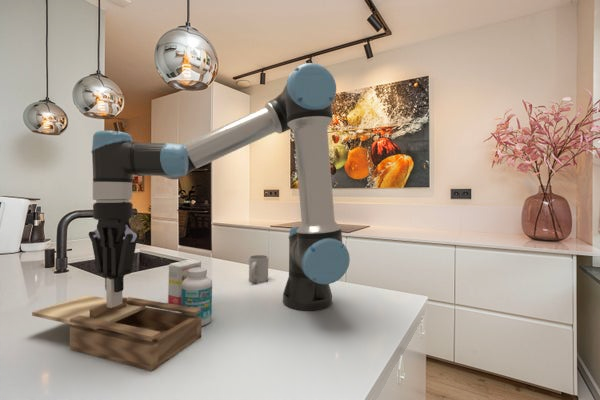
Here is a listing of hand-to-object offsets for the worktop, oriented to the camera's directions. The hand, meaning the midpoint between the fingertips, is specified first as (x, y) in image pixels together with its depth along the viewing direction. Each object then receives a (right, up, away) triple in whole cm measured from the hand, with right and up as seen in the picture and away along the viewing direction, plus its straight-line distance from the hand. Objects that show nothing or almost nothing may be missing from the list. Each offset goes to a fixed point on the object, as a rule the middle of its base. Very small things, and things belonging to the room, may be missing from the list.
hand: (114, 305), depth 67 cm
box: (+7, -7, -2) cm, 10 cm away
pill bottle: (+16, -8, +8) cm, 19 cm away
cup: (+26, -7, +44) cm, 51 cm away
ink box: (+7, -7, +23) cm, 25 cm away
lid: (-7, -2, +2) cm, 8 cm away
